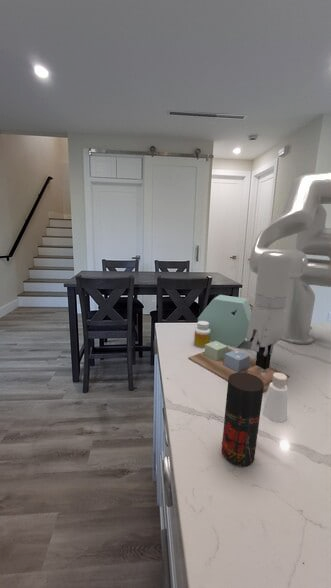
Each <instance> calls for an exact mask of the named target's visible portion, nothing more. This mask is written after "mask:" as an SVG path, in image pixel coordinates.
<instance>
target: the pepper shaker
mask: <svg viewBox="0 0 331 588" xmlns="http://www.w3.org/2000/svg"><path fill="white" fill-rule="evenodd" d="M287 380H288V378H287V376H286V375H284V374H282V373H274V374H273V382H271V383H270V384H269V387H268V390H267V391H266V395H265V400H264V403H263V407H262V415H263V416H264V417H265V418H267V419H268V420H269V421H271V422H275V423H283V422H285V421H287V419H288V418H287V417H288V415H287V414H288V393H289V392H288V386H287V385H286V384H287Z"/></svg>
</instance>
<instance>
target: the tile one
mask: <svg viewBox="0 0 331 588" xmlns="http://www.w3.org/2000/svg"><path fill="white" fill-rule="evenodd" d="M228 348H229V346H227V345H224V344H222V343H220V342H217V341H214V342H210V343H208V344H205V348H204V351H203V352H204V355H205V356H207V357H209V358H211V359H213V360H215V361H219V360H221V359H224V358H225V354H226V353H227V351H228Z"/></svg>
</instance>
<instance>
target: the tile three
mask: <svg viewBox="0 0 331 588" xmlns="http://www.w3.org/2000/svg"><path fill="white" fill-rule="evenodd" d="M247 373H248V374H252V375H254V376H257V377H258V378H260V379H261V380H262V381H263V383H264V386H265V385H267V384H268V383H270V382H272V381H273V374H274V373H275V371H272V370H270V369H268V368H267V369H266V370H265V369H263V368H261V367H259V366H254V367H252V368H250V369H248V372H247Z"/></svg>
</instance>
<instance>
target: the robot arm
mask: <svg viewBox="0 0 331 588" xmlns="http://www.w3.org/2000/svg"><path fill="white" fill-rule="evenodd" d="M324 205H331V171H327V172H326V171H325V172H315V173H314V172H313V173H306V174H302V175H300V176H298V177H296V178H295V179H293V180H292V182H291V186H290V189H289V192H288V195H287V198H286V202H285V205H284V207H283V210H282V212H281V213H282V214H281V215H280V216H279V217H278V218H276V219H274V220H273V221H271V223H269V224H268V225H267V226H265V227H264V228H263V229H262V230H261V231H260V233H259V234H258V235H257V237H256V239H255V243H254V244H253V247H252V250H251V253H250V257H249V268H250V270H251V272H252V273H253V274H255V275H256V276H257V277H256V285H255V294H254V302H253V305H254V306H253V307H252V308H251V311H252V312H251V316H250V320H249V326H248V332H247V338H246V342H247V343H251V347H250V350H251V351H253V352H255V353H256V357H255V360H256V366H259V367H261V368H263V369H265V370H266V369H267V368H269V367H271V366H270V365H271V357H272V354H273V351H274V348H275V347H274V346H275V345H276V344H277V343H278V342H279V341H280V340H282V341H285V342H286V343H287V342H288V343H291V344H297V345H309V344H312V343H313V341H314V338H313V337H312V336H311V334H310V331H312V330H313V327H312V326H311V325H312V319H313V314H314V313H313V312H314V309H315V308H314V307H315V301H316V295H315V292H314V291H313V289H312V288H311V286H317V287H318V286H319V287H325V288H326V287H327V288H331V227H330V228H329V227H326V220H327V215H328V214H327V210H326V209H325V206H324ZM293 235H296V240H295V249H288V248H277V247H275V248H274V247H270V246H271V245H272V244H273V243H275V242H277V241H278V240H281V239H285V238H287V237H290V236H293ZM307 255H308V256H321V257H328V258H329V259H319V258H309V257H307Z"/></svg>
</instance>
